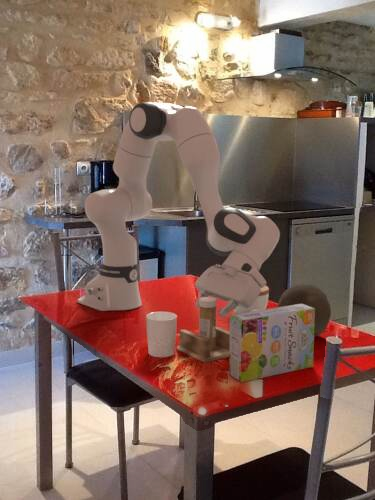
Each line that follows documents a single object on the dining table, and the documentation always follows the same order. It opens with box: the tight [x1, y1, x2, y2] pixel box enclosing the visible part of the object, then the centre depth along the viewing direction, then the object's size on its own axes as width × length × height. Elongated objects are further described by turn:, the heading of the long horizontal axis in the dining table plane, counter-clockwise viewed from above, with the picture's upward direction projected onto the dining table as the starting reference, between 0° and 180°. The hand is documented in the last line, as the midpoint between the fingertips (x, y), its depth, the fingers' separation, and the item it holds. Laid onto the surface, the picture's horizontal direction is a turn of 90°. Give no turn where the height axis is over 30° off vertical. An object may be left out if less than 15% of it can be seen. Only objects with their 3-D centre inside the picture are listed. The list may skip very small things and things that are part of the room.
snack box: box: [228, 304, 315, 383], centre depth 137 cm, size 21×6×15 cm, turn 118°
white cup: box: [145, 311, 178, 358], centre depth 149 cm, size 8×8×10 cm
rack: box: [176, 326, 230, 363], centre depth 151 cm, size 12×11×5 cm
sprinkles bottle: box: [198, 296, 218, 351], centre depth 150 cm, size 5×5×14 cm
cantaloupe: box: [277, 284, 332, 338], centre depth 162 cm, size 14×14×15 cm
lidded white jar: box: [233, 285, 270, 314], centre depth 183 cm, size 13×13×11 cm
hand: (209, 311), depth 150 cm, fingers open, 8 cm apart
